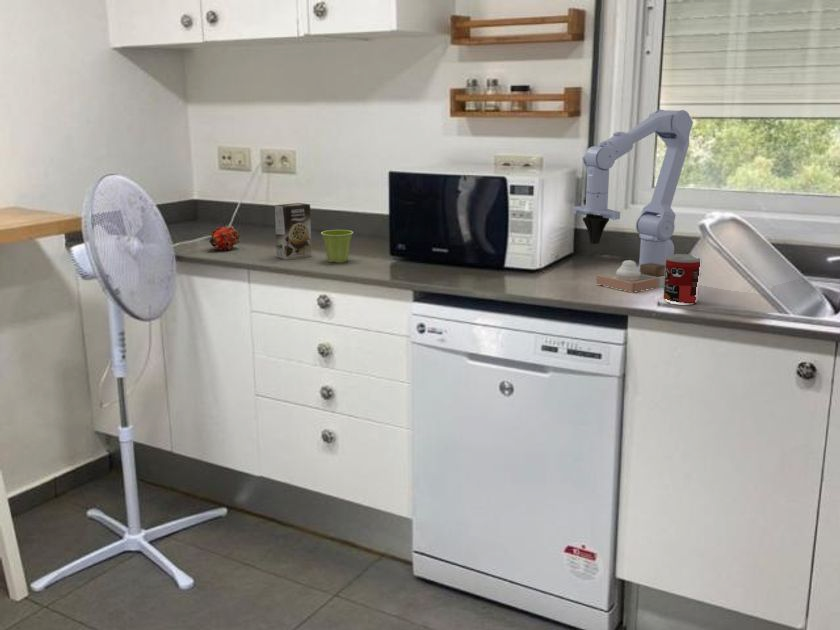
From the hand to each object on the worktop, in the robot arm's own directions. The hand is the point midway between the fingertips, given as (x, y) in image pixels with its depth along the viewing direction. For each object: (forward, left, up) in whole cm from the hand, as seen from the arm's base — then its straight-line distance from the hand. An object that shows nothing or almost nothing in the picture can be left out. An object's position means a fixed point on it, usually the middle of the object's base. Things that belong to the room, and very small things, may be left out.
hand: (594, 243), depth 228 cm
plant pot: (+43, -62, -10) cm, 76 cm away
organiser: (-4, +13, -9) cm, 16 cm away
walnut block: (-9, +13, -9) cm, 18 cm away
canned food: (+5, +32, -10) cm, 34 cm away
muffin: (+1, +13, -10) cm, 16 cm away
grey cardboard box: (+50, -76, -10) cm, 92 cm away
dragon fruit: (+62, -100, -10) cm, 118 cm away
